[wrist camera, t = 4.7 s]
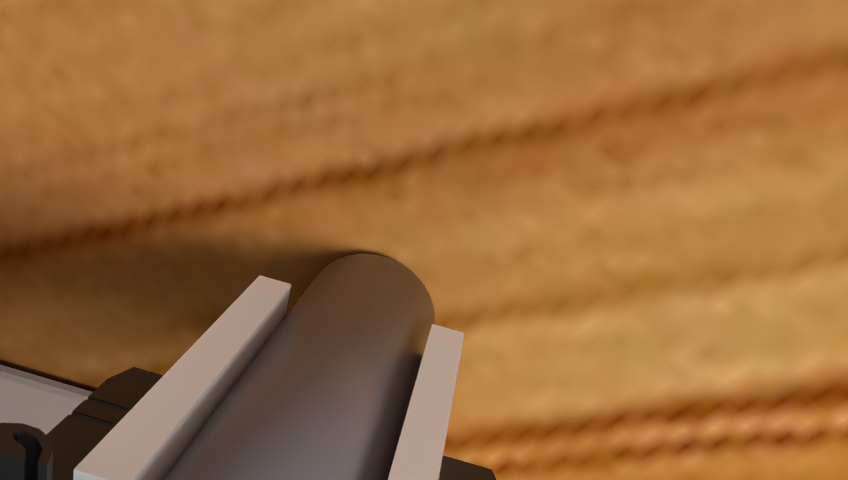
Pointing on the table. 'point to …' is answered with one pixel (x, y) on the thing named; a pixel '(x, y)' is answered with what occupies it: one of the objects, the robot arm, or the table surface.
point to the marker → (323, 383)
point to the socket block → (36, 399)
